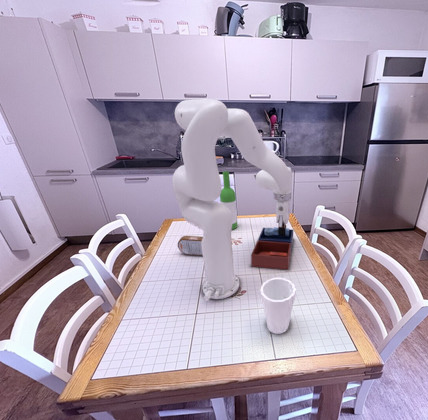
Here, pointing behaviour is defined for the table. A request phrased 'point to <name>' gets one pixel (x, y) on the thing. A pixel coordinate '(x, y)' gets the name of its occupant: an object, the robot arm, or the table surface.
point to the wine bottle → (229, 198)
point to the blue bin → (277, 237)
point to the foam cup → (278, 303)
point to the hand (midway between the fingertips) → (282, 233)
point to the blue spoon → (274, 231)
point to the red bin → (271, 261)
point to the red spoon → (274, 254)
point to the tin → (190, 245)
